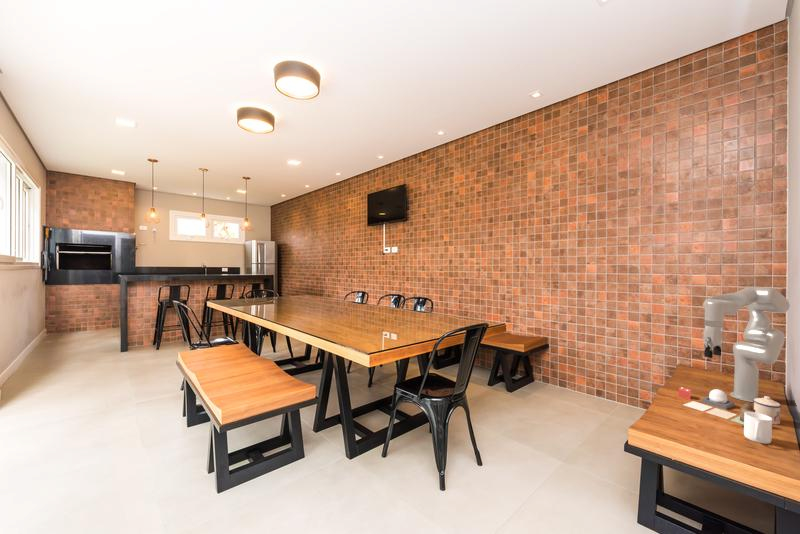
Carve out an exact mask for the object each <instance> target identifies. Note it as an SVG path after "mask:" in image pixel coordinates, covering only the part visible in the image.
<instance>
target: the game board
mask: <svg viewBox="0 0 800 534" xmlns="http://www.w3.org/2000/svg"><path fill="white" fill-rule="evenodd" d="M683 406H685V407H688V408H691V409H695V410H698V411H701V412H705V413H707V414H710V415H713V416H717V417H719V418H722V419H726V420H728V419H730V418H732V419H730V421H732V422H736V423H738V424H741V427H742V428H744V422H743V421H741V420H740V415H738V414H736V413H733V412H731V411H727V410H725V409H722V408H718V407H715V408H714V407H713V406H712V405H709V404H705V403H702V402H698V401H693V400H692V401H689V402H687V403H684V404H683ZM709 409H710V410H709ZM706 410H707V411H706ZM737 415H738V416H737ZM733 417H734V418H733Z"/></svg>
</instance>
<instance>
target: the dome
mask: <svg viewBox="0 0 800 534" xmlns="http://www.w3.org/2000/svg"><path fill="white" fill-rule="evenodd" d="M708 396H709V400H710V401H714V402H717V403H721V404H727V400H728V396H727V394H726V393H725V392H724V391H723V390H721V389H718V388H717V389H715V388H714V389H712V390H710V391H709V395H708Z"/></svg>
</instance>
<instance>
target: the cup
mask: <svg viewBox="0 0 800 534" xmlns="http://www.w3.org/2000/svg"><path fill="white" fill-rule="evenodd" d="M743 426H744V427H743V436H744V437H745V438H746V439H748V440H750V441H753V442H756V443H759V444H766V445H769V444H771V443H772V434H773V424H772V418H771V417H769V416H766V415H764V414H760V413H756V412H745V413H744V424H743Z"/></svg>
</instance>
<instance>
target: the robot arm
mask: <svg viewBox="0 0 800 534" xmlns="http://www.w3.org/2000/svg"><path fill="white" fill-rule="evenodd" d="M790 305H791V304H790V302H789V300H788V299H787V297H786V296H784V295H783V294H782V293H780V292H779V291H778V290H776V289H775V288H772V287H762V286H747V287H745V288H742V289H740V290H737V291H736V292H731V293H724V294H718V295H713V296H711V297H708V298H706V299H705V300H704V301H703V303H702V309H703V310H704V320H703V321H704V322H703V323H704V330H703V337H702V344H703V347H704V357H705V358H709V359H713V355H715V356H719V357H721V356H722V345H723V329H724V322H725V319H724V318H725V315H727V316H734V315H737V313H738V312H739V311H740V308H745V307H746V309H747V311H748V314H749V320H748V323H747V324H746V327H745V329H744V331H743V335H742V337H743V339H744V340H745V341H737V342H735V343H734V344H733V346H732V353H733V357H734V374H733V375H734V377H733V379H734V381H733V391H732V392H731V391H730V393H729V396H730V397H732V398H734V399H737V400H739V401H743V402H747V403H754V399H755V398H760V397H759V376H760V375H759V374H760V373H759V370H760V369H759V366H758V364H757V362H758V363H762V364H768V365H772V364H775V363H776V361H777V360H778V358H779V357H780V354H781V352H782V350H783V347H784V344H785V340H786V338H785V337H786V336H785V334H784V332H783V331H782V330H779V329H777V328H770V326H772V325H771V324H772V320H771V319H770V317H769V316H768V315H767V314H766V313H765V312H767V313H769V312H770V313H777V314H783V313H786V312H788V311H789V309H790Z"/></svg>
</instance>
